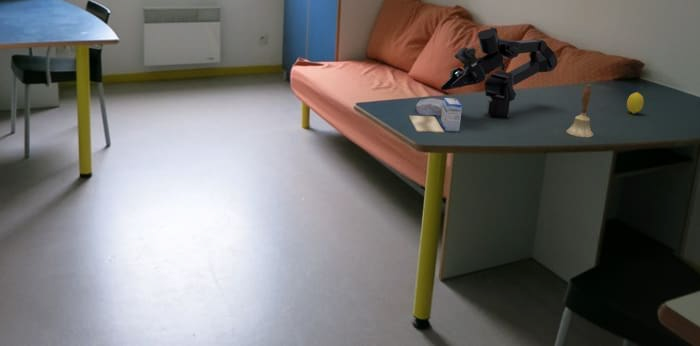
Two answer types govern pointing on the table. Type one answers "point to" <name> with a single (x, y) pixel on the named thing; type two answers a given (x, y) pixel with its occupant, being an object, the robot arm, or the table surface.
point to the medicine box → (451, 114)
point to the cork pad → (426, 124)
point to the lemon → (635, 102)
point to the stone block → (430, 107)
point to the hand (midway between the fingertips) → (446, 88)
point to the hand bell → (582, 118)
